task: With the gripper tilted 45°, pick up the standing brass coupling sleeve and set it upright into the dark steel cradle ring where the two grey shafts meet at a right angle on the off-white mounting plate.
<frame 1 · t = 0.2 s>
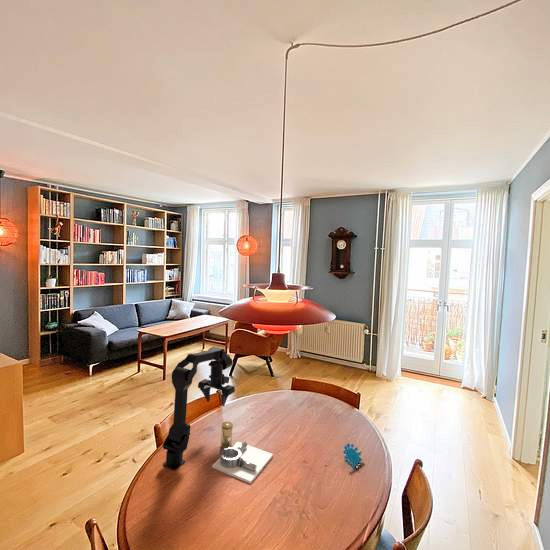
hand: (215, 404, 156), 15 cm above the table, tool pointing down, fingers open, 9 cm apart
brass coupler: (225, 445, 147), on the table
gear: (352, 464, 140), on the table
steel cradle: (230, 463, 135), resting on mounting plate
mounting plate: (230, 463, 135), on the table
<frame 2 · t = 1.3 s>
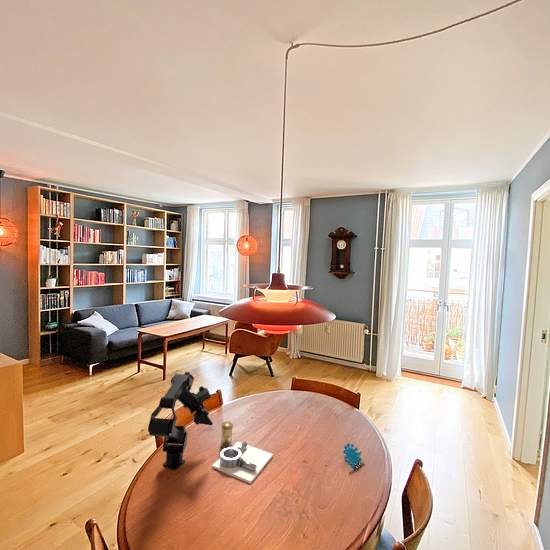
hand: (210, 419, 144), 14 cm above the table, tool tilted 45°, fingers open, 9 cm apart
nothing on the table moved.
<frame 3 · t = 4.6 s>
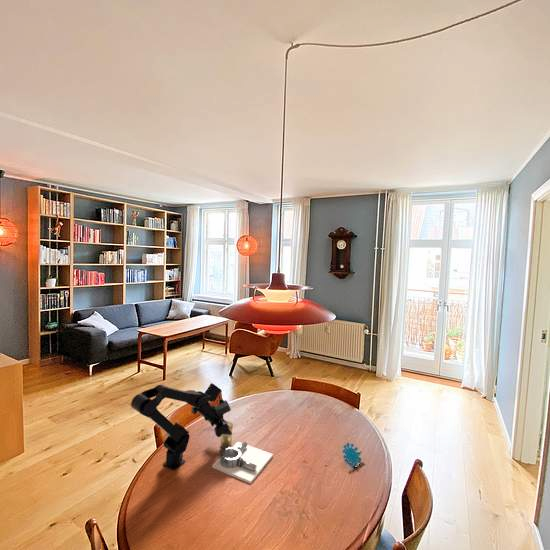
hand: (229, 431, 148), 7 cm above the table, tool tilted 45°, fingers closed on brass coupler, 5 cm apart
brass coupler: (226, 445, 147), on the table, touching gripper
everything else where it was.
when the fingers open (9 cm above the table, at t = 8.6 s): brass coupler drops 2 cm, resting on mounting plate.
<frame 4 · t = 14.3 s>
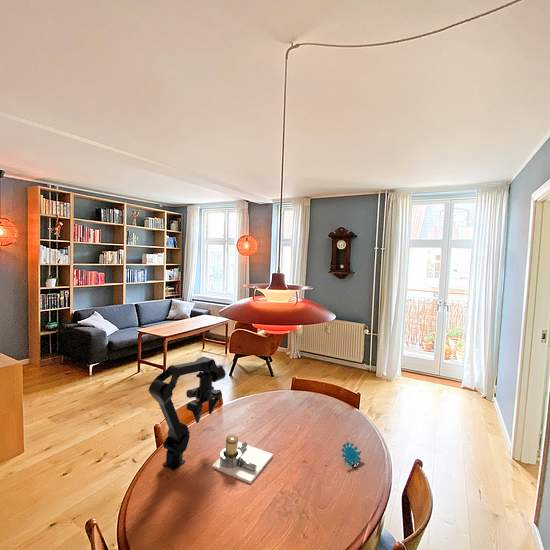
hand: (203, 418, 145), 13 cm above the table, tool pointing down, fingers open, 9 cm apart
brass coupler: (230, 461, 135), point 1 cm above the table, touching mounting plate
everything else where it was.
at the end: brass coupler 0.1 cm off-centre on the steel cradle, point 1.1 cm above the steel cradle's base; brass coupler tilted 2°; the gripper is holding nothing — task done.
